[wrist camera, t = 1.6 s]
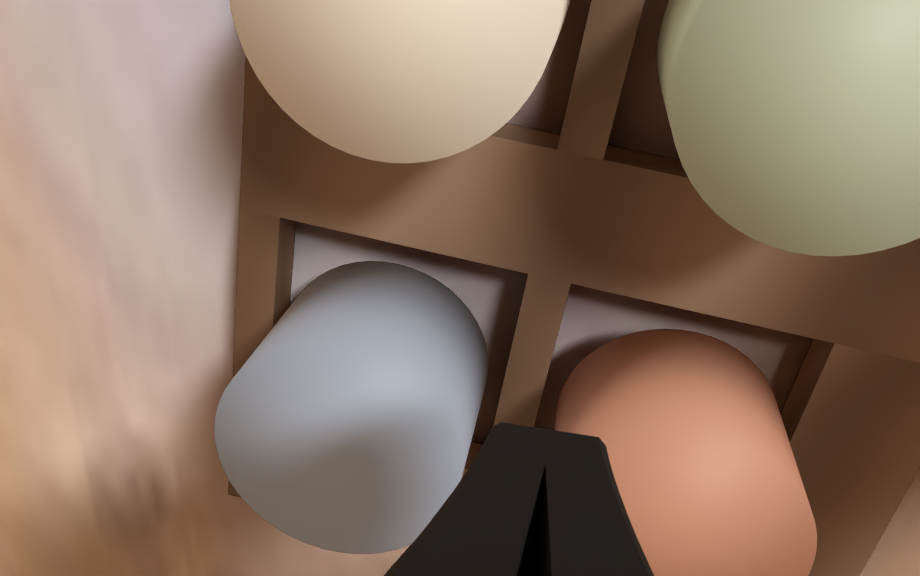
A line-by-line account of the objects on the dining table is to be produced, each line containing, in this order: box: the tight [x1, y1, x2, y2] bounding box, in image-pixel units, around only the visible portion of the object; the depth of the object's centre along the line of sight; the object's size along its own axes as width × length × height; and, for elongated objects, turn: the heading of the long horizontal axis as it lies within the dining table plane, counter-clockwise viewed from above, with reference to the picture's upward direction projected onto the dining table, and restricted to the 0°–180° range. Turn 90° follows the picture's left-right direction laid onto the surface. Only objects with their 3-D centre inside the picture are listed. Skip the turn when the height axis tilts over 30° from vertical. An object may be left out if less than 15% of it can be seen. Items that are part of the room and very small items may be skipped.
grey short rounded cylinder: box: [214, 261, 488, 554], centre depth 18 cm, size 5×5×4 cm
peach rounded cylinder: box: [554, 329, 817, 576], centre depth 17 cm, size 5×5×4 cm
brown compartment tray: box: [228, 0, 920, 576], centre depth 18 cm, size 17×22×1 cm
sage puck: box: [657, 0, 920, 256], centre depth 13 cm, size 5×5×4 cm
